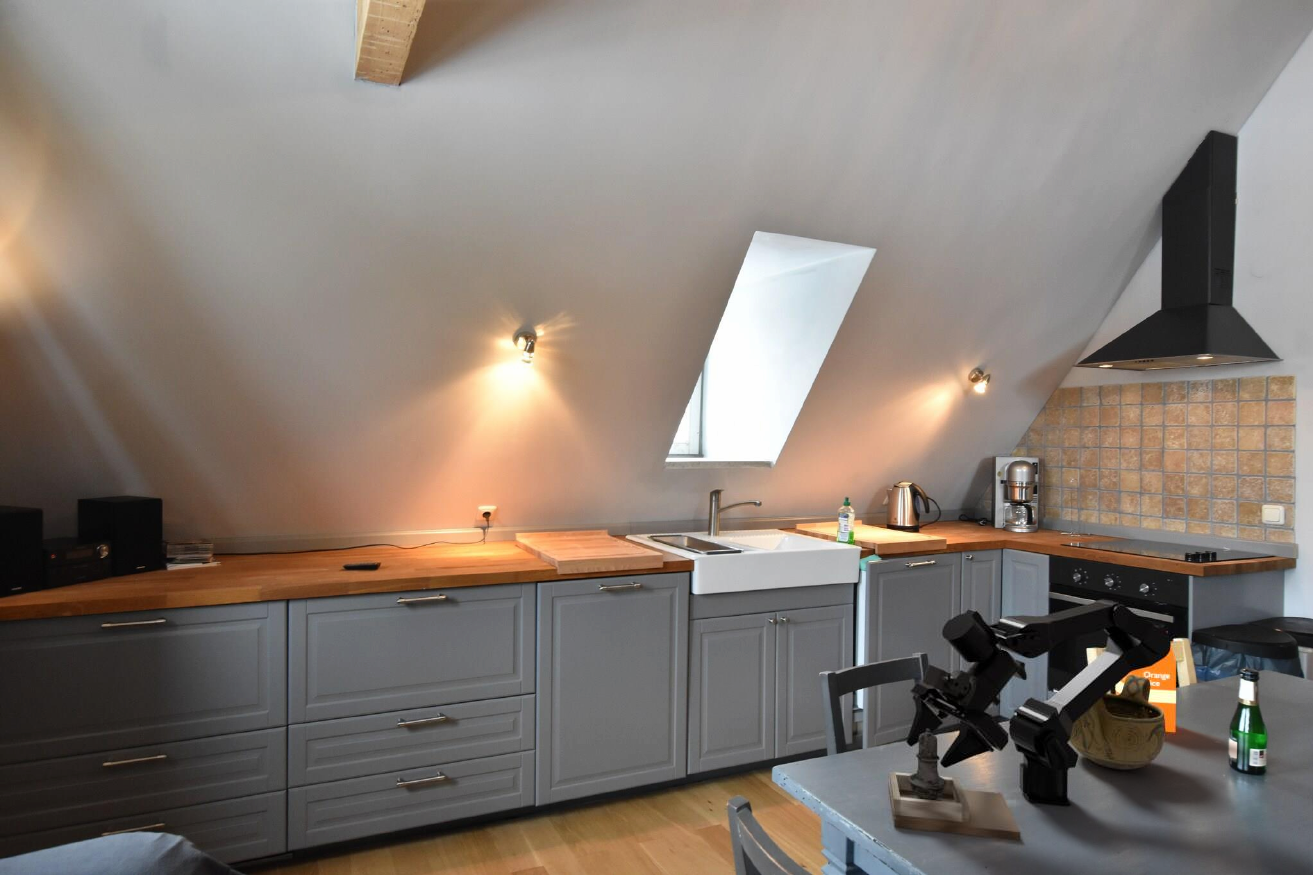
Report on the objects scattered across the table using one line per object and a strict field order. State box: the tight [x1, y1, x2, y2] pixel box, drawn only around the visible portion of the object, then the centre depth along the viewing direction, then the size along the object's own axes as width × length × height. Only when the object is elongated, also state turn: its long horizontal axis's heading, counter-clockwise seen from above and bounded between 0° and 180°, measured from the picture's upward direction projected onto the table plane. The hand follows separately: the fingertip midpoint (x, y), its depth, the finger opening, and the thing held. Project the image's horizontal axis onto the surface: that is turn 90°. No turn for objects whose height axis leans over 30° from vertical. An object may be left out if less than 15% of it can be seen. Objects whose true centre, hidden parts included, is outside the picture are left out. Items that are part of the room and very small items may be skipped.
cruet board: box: [887, 771, 1021, 841], centre depth 131 cm, size 18×14×4 cm
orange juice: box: [1115, 631, 1177, 733], centre depth 174 cm, size 8×9×20 cm
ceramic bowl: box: [1068, 675, 1167, 771], centre depth 153 cm, size 22×17×15 cm
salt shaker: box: [908, 728, 947, 801], centre depth 132 cm, size 6×6×12 cm
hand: (924, 754), depth 132 cm, fingers open, 9 cm apart
